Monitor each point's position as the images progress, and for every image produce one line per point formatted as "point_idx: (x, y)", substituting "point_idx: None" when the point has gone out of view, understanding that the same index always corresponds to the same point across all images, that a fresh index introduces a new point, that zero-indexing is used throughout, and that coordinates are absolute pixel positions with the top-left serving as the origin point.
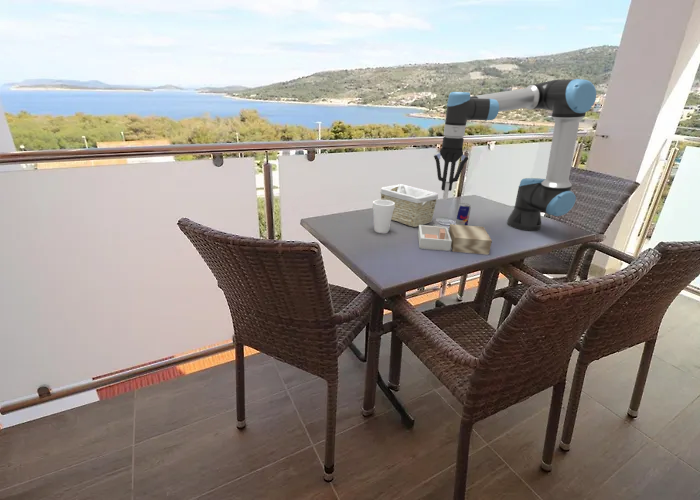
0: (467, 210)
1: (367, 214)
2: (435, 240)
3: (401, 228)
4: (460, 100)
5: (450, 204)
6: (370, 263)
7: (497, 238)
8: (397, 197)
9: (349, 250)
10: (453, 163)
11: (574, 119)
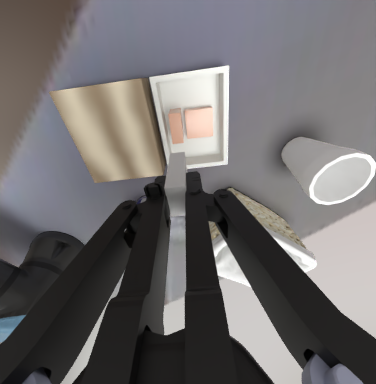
0: None
1: (306, 220)
2: (190, 71)
3: (253, 176)
4: None
5: (173, 284)
6: None
7: (81, 186)
8: (283, 237)
9: None
10: (128, 314)
11: None
